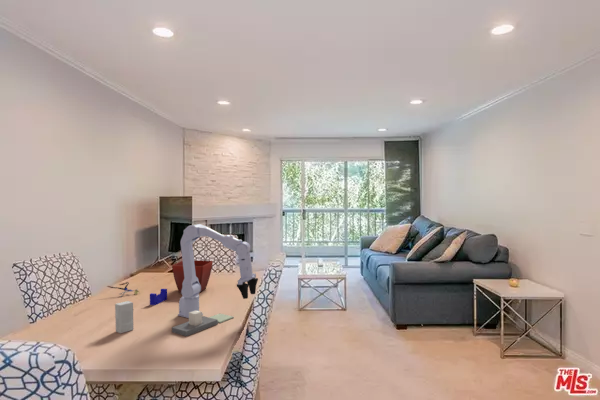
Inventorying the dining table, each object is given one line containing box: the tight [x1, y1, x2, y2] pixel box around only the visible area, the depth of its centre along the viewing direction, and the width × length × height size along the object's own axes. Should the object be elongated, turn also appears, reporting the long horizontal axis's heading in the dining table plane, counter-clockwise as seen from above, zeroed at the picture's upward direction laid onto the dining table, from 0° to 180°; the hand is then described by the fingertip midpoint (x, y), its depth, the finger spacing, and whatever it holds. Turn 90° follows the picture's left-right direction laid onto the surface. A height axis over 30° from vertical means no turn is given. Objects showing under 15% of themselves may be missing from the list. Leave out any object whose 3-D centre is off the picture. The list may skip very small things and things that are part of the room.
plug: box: [188, 310, 203, 326], centre depth 170 cm, size 4×4×7 cm
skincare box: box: [114, 300, 135, 334], centre depth 167 cm, size 6×4×12 cm
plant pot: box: [171, 259, 214, 294], centre depth 236 cm, size 19×19×17 cm
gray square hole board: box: [171, 315, 219, 337], centre depth 170 cm, size 9×18×2 cm, turn 147°
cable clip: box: [149, 288, 168, 306], centre depth 211 cm, size 12×4×6 cm, turn 169°
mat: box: [208, 313, 235, 324], centre depth 183 cm, size 9×9×1 cm
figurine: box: [106, 281, 140, 298], centre depth 224 cm, size 10×9×20 cm
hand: (249, 296), depth 183 cm, fingers open, 7 cm apart
